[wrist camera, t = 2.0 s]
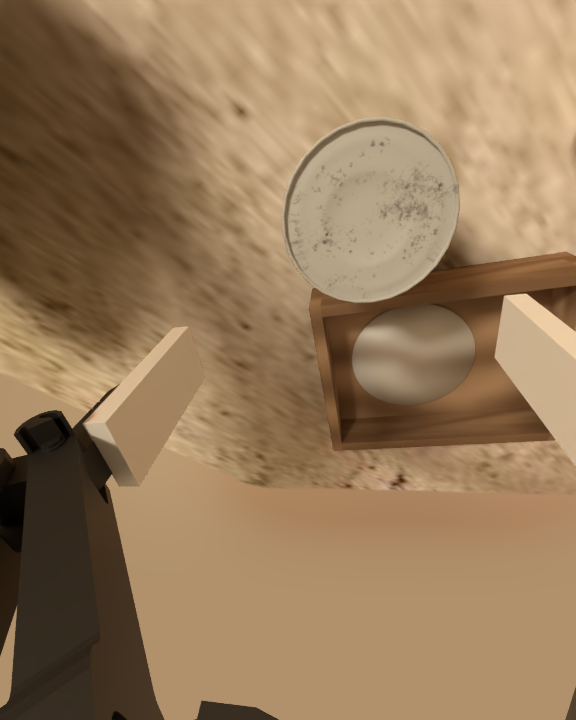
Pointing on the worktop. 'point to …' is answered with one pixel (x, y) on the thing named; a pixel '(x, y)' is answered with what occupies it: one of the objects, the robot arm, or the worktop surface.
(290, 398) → the worktop surface
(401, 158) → the grey speckled cylinder
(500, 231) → the worktop surface
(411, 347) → the box
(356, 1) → the worktop surface
